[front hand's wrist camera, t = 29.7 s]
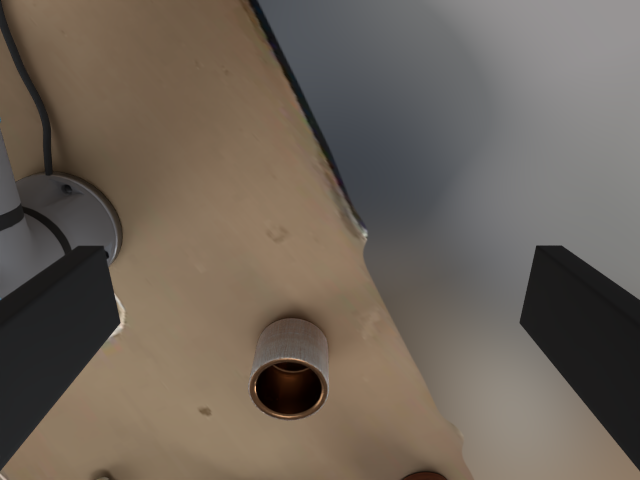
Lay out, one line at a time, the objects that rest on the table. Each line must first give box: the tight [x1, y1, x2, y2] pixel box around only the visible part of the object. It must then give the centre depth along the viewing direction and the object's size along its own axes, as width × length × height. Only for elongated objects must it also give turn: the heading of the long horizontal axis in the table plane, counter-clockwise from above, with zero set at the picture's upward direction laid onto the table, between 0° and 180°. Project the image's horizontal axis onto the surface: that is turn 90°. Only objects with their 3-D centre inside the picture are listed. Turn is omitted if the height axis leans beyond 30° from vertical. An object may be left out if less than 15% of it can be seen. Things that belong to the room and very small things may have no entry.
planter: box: [248, 318, 329, 420], centre depth 58 cm, size 11×11×10 cm
